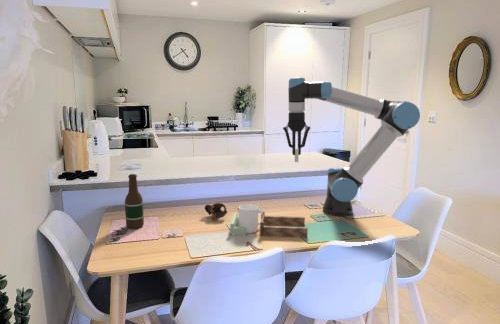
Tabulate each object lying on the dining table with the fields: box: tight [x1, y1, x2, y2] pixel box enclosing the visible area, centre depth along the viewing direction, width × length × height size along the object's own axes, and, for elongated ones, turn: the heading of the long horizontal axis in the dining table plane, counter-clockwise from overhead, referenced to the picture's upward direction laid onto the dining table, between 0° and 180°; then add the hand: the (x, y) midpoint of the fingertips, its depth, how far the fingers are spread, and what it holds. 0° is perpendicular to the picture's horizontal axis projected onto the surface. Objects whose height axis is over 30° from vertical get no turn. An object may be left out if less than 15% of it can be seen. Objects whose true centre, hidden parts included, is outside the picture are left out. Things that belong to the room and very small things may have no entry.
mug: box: [238, 203, 264, 234], centre depth 159 cm, size 9×12×11 cm
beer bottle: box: [124, 173, 145, 230], centre depth 160 cm, size 8×8×24 cm
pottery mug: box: [204, 202, 228, 221], centre depth 175 cm, size 12×10×8 cm
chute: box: [259, 210, 309, 238], centre depth 159 cm, size 20×15×6 cm
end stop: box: [229, 212, 247, 236], centre depth 160 cm, size 6×15×5 cm, turn 176°
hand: (296, 161), depth 171 cm, fingers closed
